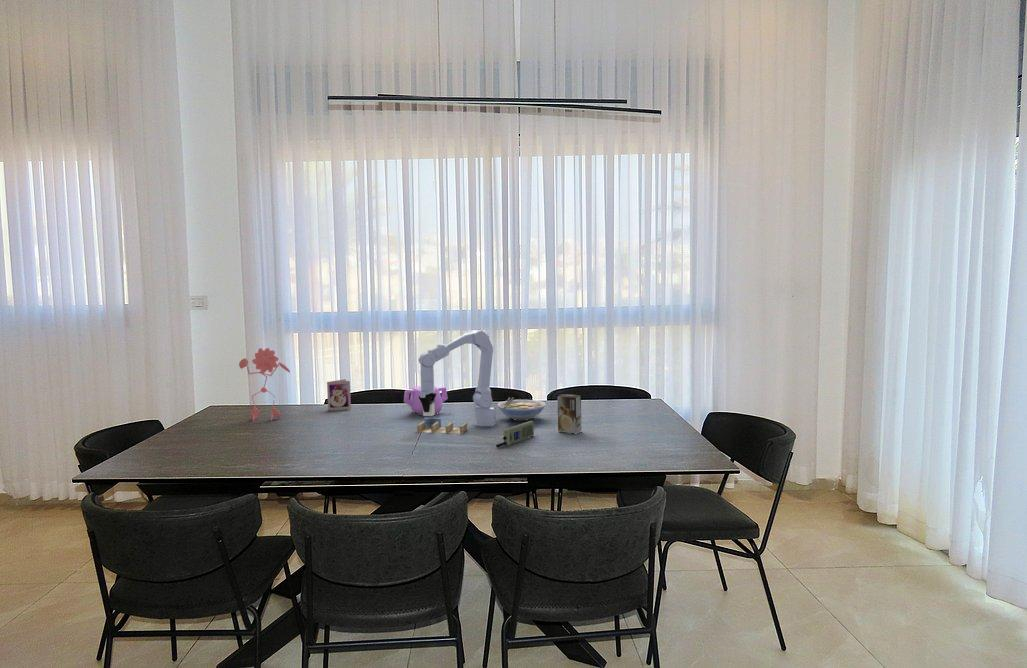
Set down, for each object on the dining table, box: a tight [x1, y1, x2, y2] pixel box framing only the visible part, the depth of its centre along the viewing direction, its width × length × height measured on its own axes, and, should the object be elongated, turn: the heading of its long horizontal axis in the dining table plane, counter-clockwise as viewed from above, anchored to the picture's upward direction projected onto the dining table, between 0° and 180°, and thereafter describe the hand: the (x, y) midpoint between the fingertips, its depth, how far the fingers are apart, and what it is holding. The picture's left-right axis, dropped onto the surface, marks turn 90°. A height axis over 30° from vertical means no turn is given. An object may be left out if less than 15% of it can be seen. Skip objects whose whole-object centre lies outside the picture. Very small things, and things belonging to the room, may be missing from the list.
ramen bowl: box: [497, 396, 546, 421], centre depth 307 cm, size 25×23×8 cm
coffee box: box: [556, 393, 583, 434], centre depth 280 cm, size 9×6×16 cm
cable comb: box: [416, 417, 469, 435], centre depth 283 cm, size 20×11×5 cm, turn 80°
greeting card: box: [326, 378, 352, 412], centre depth 337 cm, size 11×7×15 cm, turn 104°
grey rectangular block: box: [422, 401, 436, 417], centre depth 282 cm, size 4×4×6 cm
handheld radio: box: [495, 420, 535, 449], centre depth 265 cm, size 7×3×25 cm
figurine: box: [238, 347, 291, 422], centre depth 315 cm, size 15×26×35 cm, turn 86°
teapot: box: [403, 385, 449, 415], centre depth 323 cm, size 19×18×15 cm
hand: (428, 410), depth 282 cm, fingers closed on grey rectangular block, 4 cm apart
